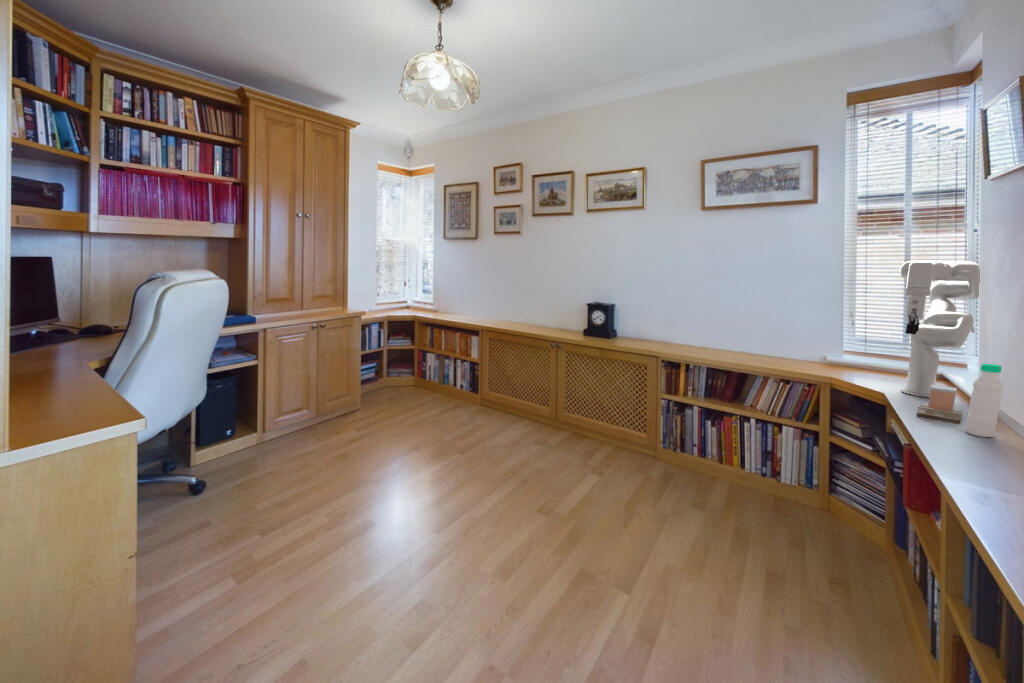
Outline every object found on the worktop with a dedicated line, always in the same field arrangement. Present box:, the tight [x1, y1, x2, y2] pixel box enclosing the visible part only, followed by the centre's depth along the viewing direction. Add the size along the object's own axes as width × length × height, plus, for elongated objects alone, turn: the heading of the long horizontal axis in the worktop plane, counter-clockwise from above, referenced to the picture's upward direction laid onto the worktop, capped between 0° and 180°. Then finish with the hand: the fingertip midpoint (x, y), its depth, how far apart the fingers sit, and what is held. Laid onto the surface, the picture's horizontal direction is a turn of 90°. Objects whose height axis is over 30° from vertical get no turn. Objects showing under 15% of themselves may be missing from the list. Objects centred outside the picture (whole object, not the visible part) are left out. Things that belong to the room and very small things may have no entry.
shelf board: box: [916, 404, 963, 425], centre depth 171 cm, size 14×12×4 cm
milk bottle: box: [965, 363, 1004, 438], centre depth 151 cm, size 7×7×25 cm
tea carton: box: [927, 384, 958, 412], centre depth 170 cm, size 5×7×10 cm
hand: (912, 332), depth 185 cm, fingers open, 9 cm apart
